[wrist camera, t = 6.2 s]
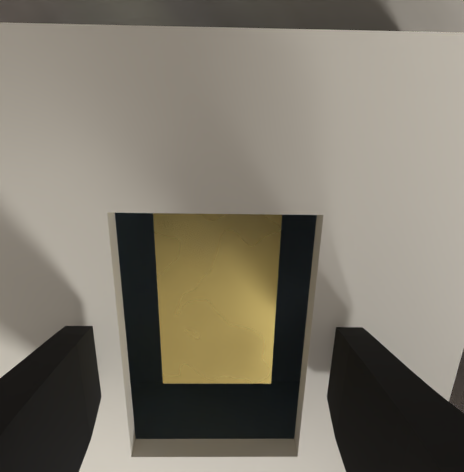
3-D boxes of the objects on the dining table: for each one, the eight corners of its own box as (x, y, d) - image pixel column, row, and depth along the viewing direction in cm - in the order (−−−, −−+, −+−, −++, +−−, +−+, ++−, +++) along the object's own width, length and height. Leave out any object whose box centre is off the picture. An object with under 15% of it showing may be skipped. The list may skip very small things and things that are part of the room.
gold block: (257, 292, 17) (270, 383, 12) (179, 291, 17) (163, 383, 12) (263, 164, 15) (282, 214, 10) (174, 163, 15) (153, 213, 10)
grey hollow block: (352, 387, 19) (410, 539, 13) (80, 387, 19) (13, 541, 13) (408, 43, 14) (550, 34, 8) (27, 34, 13) (-130, 19, 7)
